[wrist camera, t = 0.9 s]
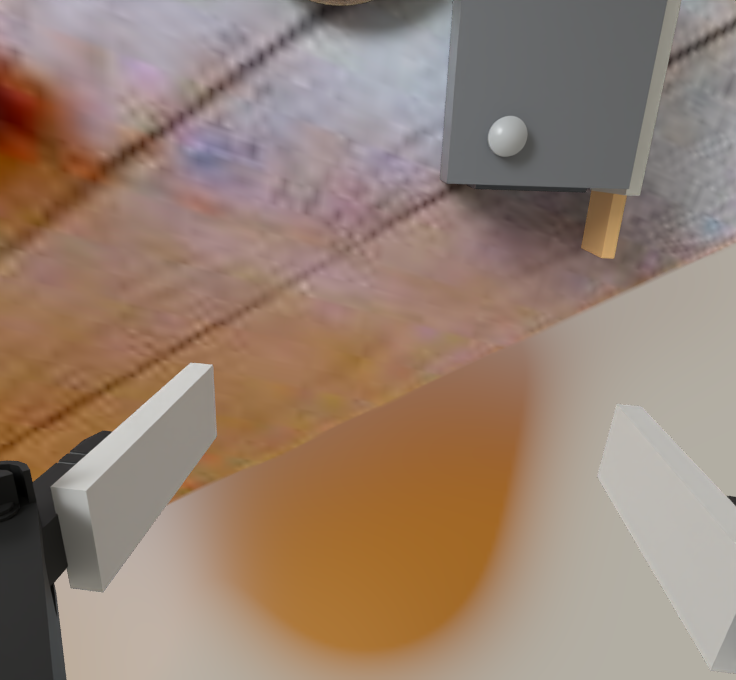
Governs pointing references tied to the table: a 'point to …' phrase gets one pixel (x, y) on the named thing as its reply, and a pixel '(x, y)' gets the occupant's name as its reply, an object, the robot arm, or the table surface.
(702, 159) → the table surface
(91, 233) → the table surface
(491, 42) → the grey box with knob
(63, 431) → the table surface
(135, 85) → the table surface
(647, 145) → the light grey flat piece
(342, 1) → the saucer
